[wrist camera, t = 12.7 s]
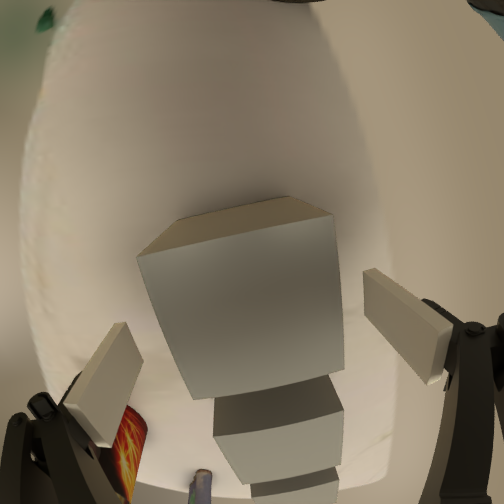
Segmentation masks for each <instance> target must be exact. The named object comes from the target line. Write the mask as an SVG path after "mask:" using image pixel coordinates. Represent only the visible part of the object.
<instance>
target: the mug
mask: <svg viewBox="0 0 504 504" xmlns="http://www.w3.org/2000/svg"><path fill="white" fill-rule="evenodd" d="M147 431H148V430H147V425H146V422H145V421H144V419H143V418H142V417H141V416H140V415H139V413H137V412H136V411H135V410H134V409H132V408H131V407H130V406H128V405H127V406H126V408H125V411H124V414H123V416H122V419H121V422H120V425H119V428H118V430H117V433H116V436H115V439H114V442H113V445H112V448H107V447H98V446H97V445H96V444H95V443H94V442H93V441H92V439H91V438H90V441H89V443H88V444H89V445H90V447H91V448H92V449H93V451H94V453H95V455H96V458H97V460H98V462H99V464H100V466H101V468H102V469H103V471H104V473H105V475H106V477H107V479H108V481H109V482H110V484H111V486H112V488H113V489H114V491H115V493H116V494H117V496H118V498H119V499H120V501H121V502H122V504H131V500H132V495H133V490H134V486H135V481H136V477H137V472H138V468H139V464H140V459H141V455H142V451H143V447H144V443H145V439H146V435H147Z"/></svg>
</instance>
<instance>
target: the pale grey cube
mask: <svg viewBox="0 0 504 504" xmlns="http://www.w3.org/2000/svg"><path fill="white" fill-rule="evenodd" d="M136 259H137V262H138V265H139V268H140V271H141V274H142V277H143V280H144V283H145V286H146V289H147V292H148V295H149V298H150V300H151V303H152V306H153V309H154V311H155V314H156V316H157V319H158V322H159V324H160V327H161V329H162V332H163V334H164V337H165V339H166V342H167V344H168V346H169V349H170V351H171V353H172V356H173V358H174V360H175V362H176V365H177V367H178V369H179V371H180V373H181V376H182V378H183V380H184V382H185V384H186V386H187V388H188V390H189V392H190V394H191V396H192V398H193V400H198V399H207V398H215V397H222V396H229V395H236V394H242V393H248V392H253V391H259V390H264V389H269V388H274V387H279V386H283V385H288V384H292V383H296V382H300V381H304V380H308V379H312V378H316V377H320V376H323V375H327V374H330V373H334V372H337V371H340V370H344V332H343V311H342V296H341V283H340V271H339V261H338V251H337V242H336V234H335V226H334V218H333V214H330V213H328V212H326V211H324V210H321V209H319V208H317V207H314V206H312V205H309V204H307V203H305V202H302V201H300V200H297V199H295V198H292V197H290V196H287V197H281V198H276V199H271V200H266V201H261V202H256V203H251V204H247V205H242V206H237V207H233V208H228V209H224V210H219V211H215V212H210V213H206V214H201V215H197V216H193V217H189V218H185V219H180V220H177V221H176V222H175V223H174V224H172V225H171V226H170V227H169V228H168V229H167V230H165V231H164V232H163V233H162V234H161V235H160V236H159V237H158V238H156V239H155V240H154V241H153V242H152V243H151V244H150V245H149V246H148V247H147V248H145V249H144V250H143V251H142V252H141V253H140V254H139V255H138V256H137V257H136Z"/></svg>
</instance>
